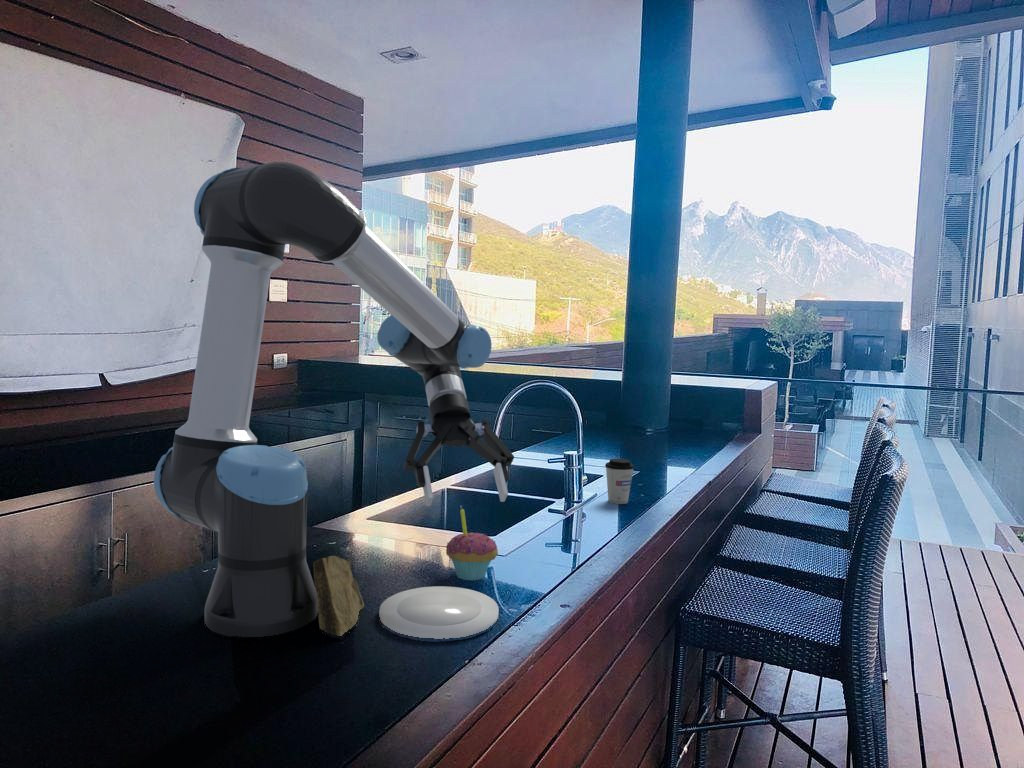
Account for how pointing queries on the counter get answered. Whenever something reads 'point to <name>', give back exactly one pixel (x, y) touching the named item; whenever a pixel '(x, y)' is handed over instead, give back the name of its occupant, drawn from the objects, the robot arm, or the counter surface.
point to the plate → (439, 612)
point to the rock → (336, 595)
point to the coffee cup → (619, 480)
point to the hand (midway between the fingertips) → (467, 500)
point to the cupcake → (471, 553)
